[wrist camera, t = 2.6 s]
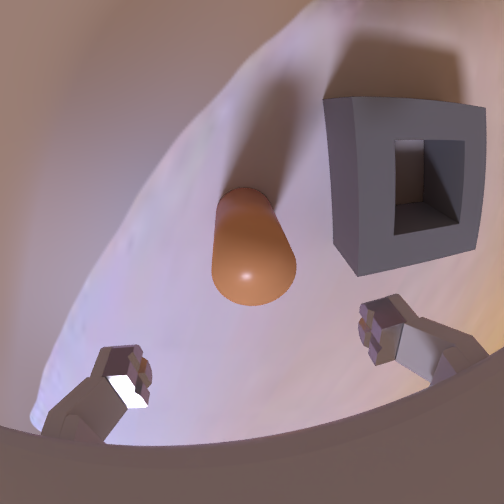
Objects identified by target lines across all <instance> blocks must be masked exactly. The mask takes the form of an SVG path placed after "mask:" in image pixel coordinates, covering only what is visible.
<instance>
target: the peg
mask: <svg viewBox="0 0 504 504" xmlns="http://www.w3.org/2000/svg"><path fill="white" fill-rule="evenodd" d="M295 275H296V259H295V256H294V254H293V251H292V249H291V247H290V245H289V243H288V240H287V238H286V236H285V234H284V232H283V230H282V228H281V225H280V223H279V221H278V219H277V217H276V215H275V213H274V211H273V208H272V206H271V204H270V202H269V200H268V199H267V198H266V196H265V195H264V194H262V193H261V192H259V191H258V190H255V189H252V188H237V189H234V190H232V191H230V192H228V193H227V194H226V195H225V196H223V198H222V199H221V200H220V202H219V204H218V206H217V210H216V220H215V231H214V244H213V256H212V278H213V281H214V284H215V286H216V288H217V289H218V291H219V292H220V293H221V294H222V295H223V296H224V297H226V298H227V299H229V300H230V301H232V302H235V303H237V304H241V305H247V306H257V305H263V304H267V303H269V302H272V301H274V300H276V299H277V298H279V297H280V296H282V295H283V294H284V293H285V292H286V291H287V290H288V289H289V287H290V286H291V284H292V283H293V280H294V278H295Z"/></svg>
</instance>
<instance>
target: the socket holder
mask: <svg viewBox="0 0 504 504" xmlns="http://www.w3.org/2000/svg"><path fill="white" fill-rule="evenodd" d="M323 105H324V113H325V122H326V131H327V142H328V153H329V165H330V179H331V195H332V215H333V244H334V245H335V247H336V248H337V249H338V251H339V252H340V253H341V255H342V256H343V258H344V259H345V260H346V262H347V263H348V264H349V266H350V267H351V268H352V270H353V271H354V273H355V274H356V275H357V277H359V276H364V275H369V274H374V273H378V272H383V271H387V270H392V269H396V268H401V267H405V266H410V265H414V264H418V263H422V262H427V261H431V260H435V259H439V258H443V257H447V256H451V255H455V254H459V253H463V252H467V251H471V250H474V249H475V248H476V243H477V238H478V232H479V226H480V219H481V212H482V204H483V195H484V184H485V170H486V108H484V107H478V106H472V105H466V104H459V103H452V102H444V101H435V100H424V99H412V98H394V97H343V98H332V99H323ZM395 140H424V195H423V202H417V203H410V204H402V205H395Z"/></svg>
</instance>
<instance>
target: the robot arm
mask: <svg viewBox="0 0 504 504" xmlns="http://www.w3.org/2000/svg"><path fill="white" fill-rule="evenodd" d="M359 313H360V315H361V316H362V318H361V319H360V321H359V323H358V331H359V336H360V339H361V342H362V343H363V345H364V346H366V347H368V348H369V352H368V354H369V356H370V358H371V360H372V361H373V363H374V365H375V366H377V365H380V364H384V363H387V362H390V361H393V360H395V361H396V362H398V363H400V364H401V365H403V366H404V367H406V368H408V369H409V370H411V371H413V372H414V373H416V374H417V375H419V376H421V377H422V378H424V379H426V380H427V381H429V382H430V386H429V387H428V388H425V389H423V390H421V391H419V392H416V393H414V394H411V395H409V396H407V397H404V398H401V399H399V400H396V401H394V402H391V403H388V404H386V405H383V406H380V407H377V408H374V409H372V410H369V411H366V412H363V413H359V414H356V415H353V416H350V417H346V418H343V419H340V420H336V421H333V422H329V423H325V424H321V425H317V426H313V427H309V428H305V429H301V430H296V431H291V432H286V433H281V434H276V435H271V436H265V437H259V438H252V439H245V440H238V441H229V442H220V443H209V444H196V445H176V446H132V445H112V444H106V443H105V442H104V440H105V439H106V437H107V436H108V435H109V433H110V432H111V431H112V429H113V428H114V427H115V425H116V424H117V423H118V421H119V420H120V419H121V417H122V416H123V415H124V413H125V412H126V411H127V409H128V408H134V407H148V401H149V395H150V392H149V391H148V389H147V388H148V387H149V386H150V385H151V383H152V370H151V367H150V364H149V362H148V360H146V359H145V358H143V357H142V355H143V351H142V349H141V347H140V346H139V345H123V346H112V347H103V348H101V349H100V352H99V354H98V357H97V360H96V362H95V365H94V368H93V370H92V373H91V376H90V377H87V378H86V379H84V380H83V381H82V382H81V383H80V384H79V385H78V386H77V387H75V388H74V389H73V390H72V391H71V392H70V393H69V394H68V395H67V396H65V397H64V398H63V399H62V400H61V401H60V402H59V403H58V404H57V405H55V406H54V407H53V408H52V409H51V410H50V411H49V412H48V415H47V418H46V421H45V423H44V426H43V429H42V432H41V435H36V434H32V433H27V432H23V431H18V430H14V429H10V428H7V427H3V426H0V504H504V347H503V348H501V349H499V350H498V351H496V352H495V353H493V354H491V355H490V356H489V354H488V353H487V352H486V351H485V350H484V349H483V347H482V346H481V345H480V344H479V343H478V342H477V340H476V339H475V338H474V337H473V336H471V335H469V334H466V333H464V332H461V331H458V330H456V329H453V328H450V327H448V326H445V325H442V324H440V323H437V322H435V321H432V320H429V319H427V318H424V317H421V318H419V317H418V316H417V315H416V313H415V312H414V311H413V310H412V309H411V308H410V306H409V305H408V304H407V303H406V302H405V301H404V300H403V298H402V297H401V296H400V295H399V294H393V295H390V296H387V297H385V298H381V299H377V300H373V301H370V302H366V303H362V304H361V306H360V311H359Z"/></svg>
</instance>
